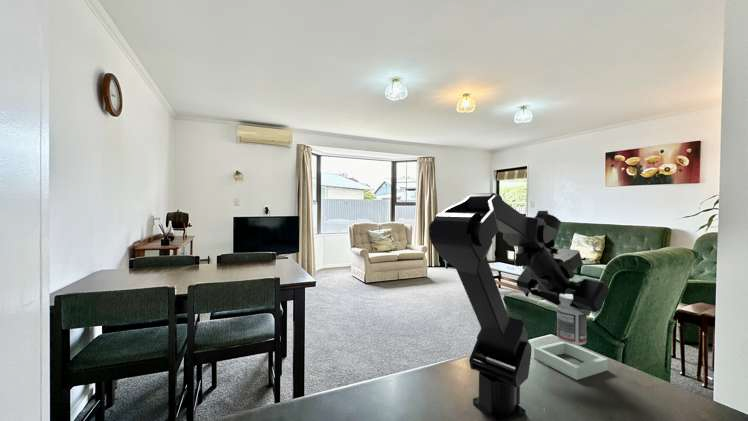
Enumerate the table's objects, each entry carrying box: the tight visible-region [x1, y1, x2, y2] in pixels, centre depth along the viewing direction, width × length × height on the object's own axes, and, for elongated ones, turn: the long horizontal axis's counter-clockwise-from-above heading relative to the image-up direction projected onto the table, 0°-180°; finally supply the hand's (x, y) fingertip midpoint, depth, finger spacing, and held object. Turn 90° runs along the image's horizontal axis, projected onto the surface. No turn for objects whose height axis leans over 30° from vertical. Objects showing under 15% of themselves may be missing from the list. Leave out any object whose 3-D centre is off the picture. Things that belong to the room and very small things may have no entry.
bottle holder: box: [533, 340, 609, 381], centre depth 72 cm, size 10×10×2 cm
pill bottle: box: [556, 293, 588, 346], centre depth 71 cm, size 6×6×10 cm
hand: (575, 309), depth 72 cm, fingers closed on pill bottle, 6 cm apart
